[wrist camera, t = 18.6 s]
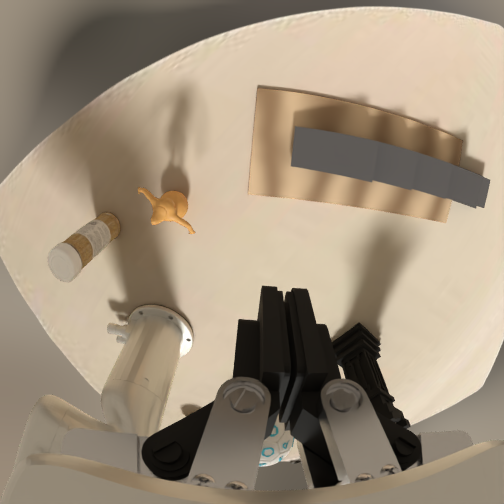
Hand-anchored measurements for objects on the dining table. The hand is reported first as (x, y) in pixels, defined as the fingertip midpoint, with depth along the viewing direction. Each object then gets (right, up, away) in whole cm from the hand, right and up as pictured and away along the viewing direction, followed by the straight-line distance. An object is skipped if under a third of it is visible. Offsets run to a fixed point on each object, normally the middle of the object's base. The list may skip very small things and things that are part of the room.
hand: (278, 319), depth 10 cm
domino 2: (+10, +15, +21) cm, 28 cm away
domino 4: (+23, +14, +21) cm, 34 cm away
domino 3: (+16, +14, +21) cm, 30 cm away
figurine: (-11, +10, +26) cm, 30 cm away
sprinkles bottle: (-23, +7, +28) cm, 37 cm away
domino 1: (+4, +15, +21) cm, 26 cm away
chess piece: (+18, -15, +37) cm, 44 cm away
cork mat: (+15, +15, +22) cm, 31 cm away
